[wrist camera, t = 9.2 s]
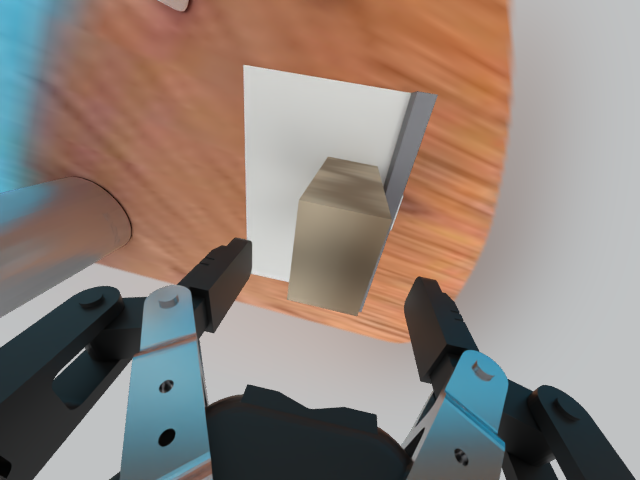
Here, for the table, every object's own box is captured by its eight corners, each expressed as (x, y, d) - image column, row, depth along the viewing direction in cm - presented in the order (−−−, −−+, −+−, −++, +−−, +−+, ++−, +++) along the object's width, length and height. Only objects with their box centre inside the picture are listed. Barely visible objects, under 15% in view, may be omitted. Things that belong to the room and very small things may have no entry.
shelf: (254, 262, 28) (239, 284, 24) (254, 68, 18) (229, 59, 14) (362, 286, 27) (363, 312, 23) (425, 97, 17) (441, 95, 14)
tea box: (316, 222, 21) (286, 299, 13) (328, 156, 18) (299, 199, 10) (360, 232, 21) (359, 316, 13) (379, 166, 18) (395, 220, 10)
